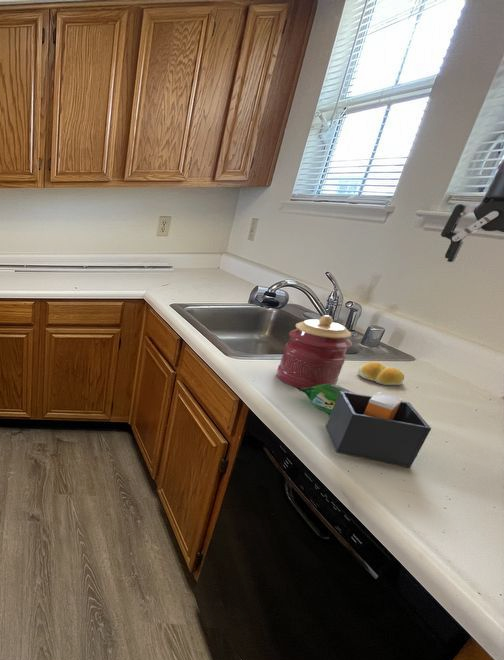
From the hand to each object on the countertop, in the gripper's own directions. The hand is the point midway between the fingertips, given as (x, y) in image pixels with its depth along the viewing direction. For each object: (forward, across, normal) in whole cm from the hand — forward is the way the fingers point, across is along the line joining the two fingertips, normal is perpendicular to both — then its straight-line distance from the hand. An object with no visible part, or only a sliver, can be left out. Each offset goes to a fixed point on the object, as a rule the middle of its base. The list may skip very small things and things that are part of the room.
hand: (480, 265), depth 79 cm
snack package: (+33, +9, +12) cm, 37 cm away
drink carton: (+32, +1, +22) cm, 39 cm away
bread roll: (+33, +10, -17) cm, 39 cm away
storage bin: (+33, +1, +22) cm, 40 cm away
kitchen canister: (+33, +21, 0) cm, 39 cm away
